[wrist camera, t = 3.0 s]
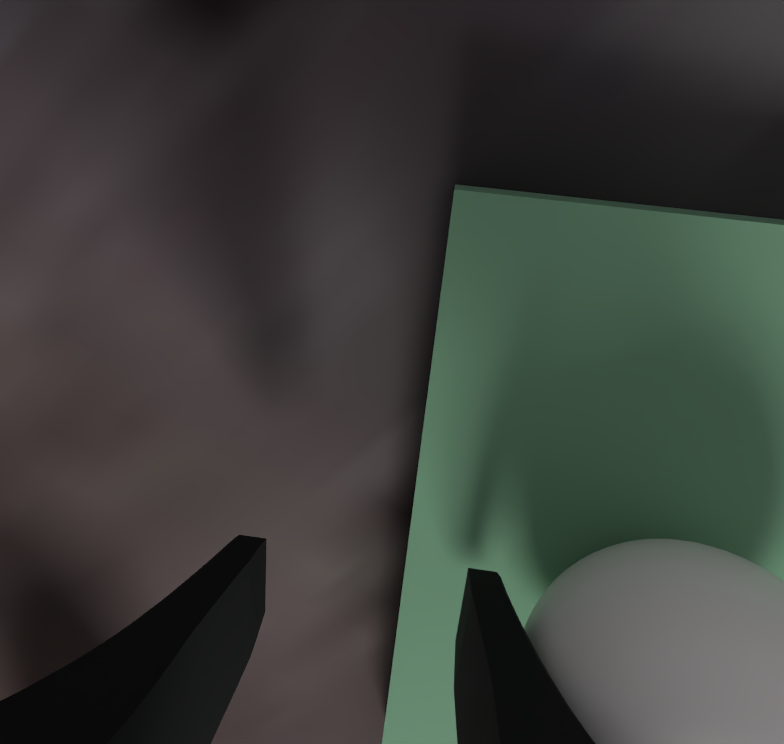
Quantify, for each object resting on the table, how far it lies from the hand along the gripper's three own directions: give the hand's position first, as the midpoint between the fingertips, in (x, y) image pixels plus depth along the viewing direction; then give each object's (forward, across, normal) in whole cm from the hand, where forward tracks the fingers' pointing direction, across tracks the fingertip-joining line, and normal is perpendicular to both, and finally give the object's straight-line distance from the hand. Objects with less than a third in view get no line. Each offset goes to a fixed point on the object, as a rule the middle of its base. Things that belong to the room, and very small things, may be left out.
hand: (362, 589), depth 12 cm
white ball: (-2, -6, 0) cm, 6 cm away
